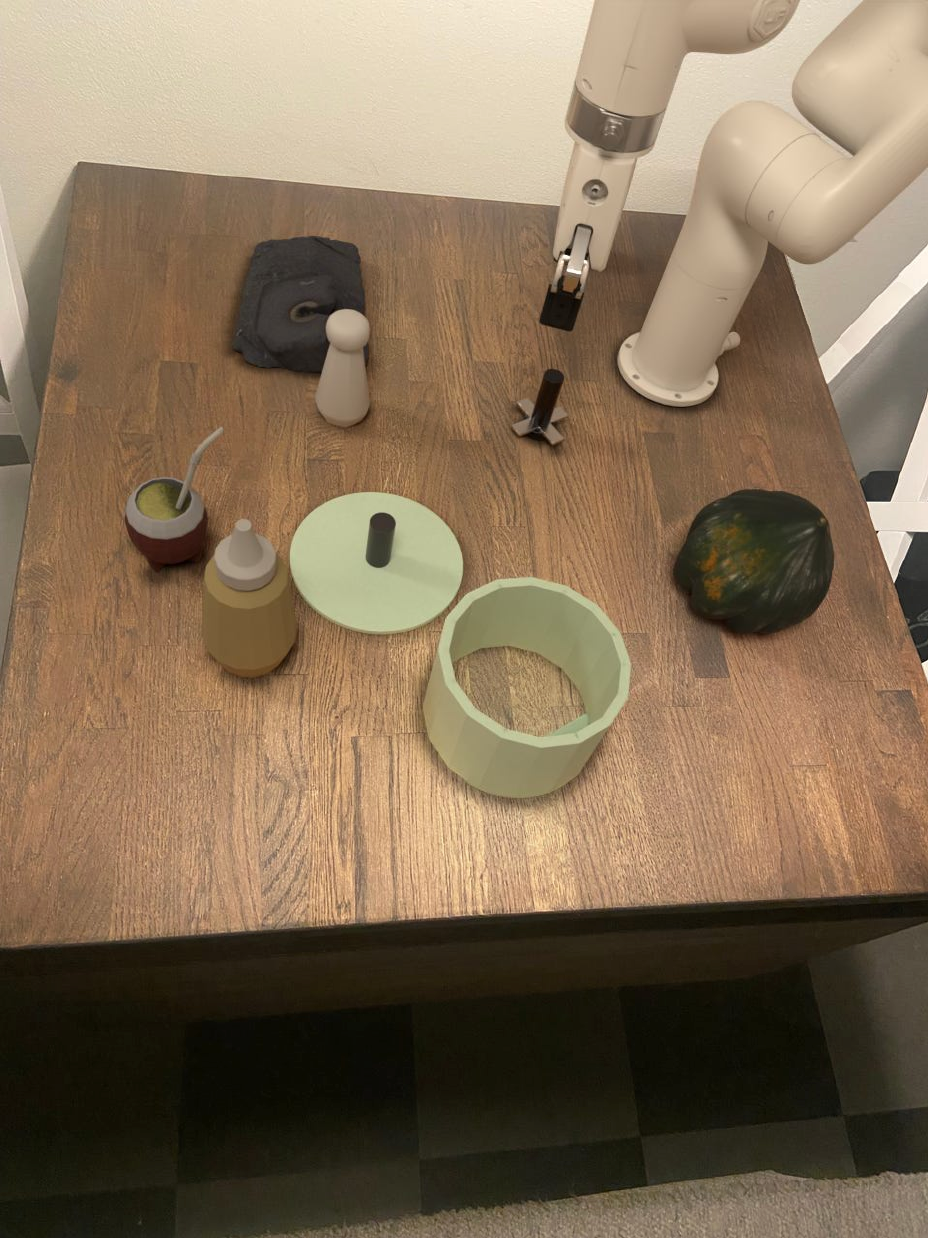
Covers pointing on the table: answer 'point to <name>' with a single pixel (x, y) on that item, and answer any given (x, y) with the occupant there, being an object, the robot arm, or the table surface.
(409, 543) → the lid
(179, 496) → the mate gourd
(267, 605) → the squeeze bottle
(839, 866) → the table surface
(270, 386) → the table surface
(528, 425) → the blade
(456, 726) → the green cylindrical sleeve
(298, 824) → the table surface
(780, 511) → the squash
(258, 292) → the dark slate chunk
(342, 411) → the salt shaker
